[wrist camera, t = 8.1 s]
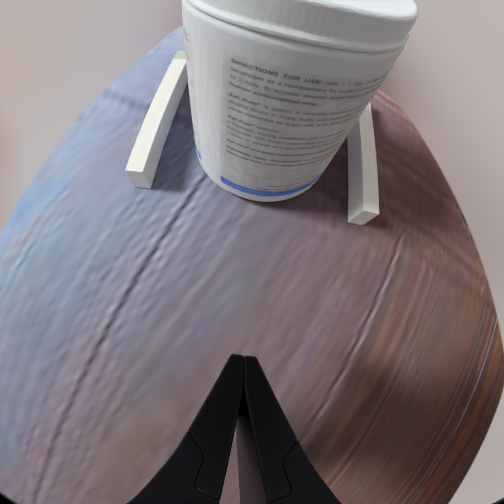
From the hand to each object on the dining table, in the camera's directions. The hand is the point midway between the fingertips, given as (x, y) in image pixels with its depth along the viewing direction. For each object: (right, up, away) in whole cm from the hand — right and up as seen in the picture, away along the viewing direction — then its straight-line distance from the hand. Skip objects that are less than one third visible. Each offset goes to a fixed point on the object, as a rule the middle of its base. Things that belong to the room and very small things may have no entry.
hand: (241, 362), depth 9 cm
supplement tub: (+1, +11, +11) cm, 16 cm away
